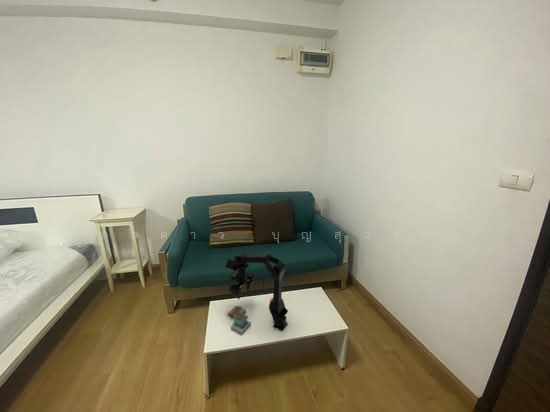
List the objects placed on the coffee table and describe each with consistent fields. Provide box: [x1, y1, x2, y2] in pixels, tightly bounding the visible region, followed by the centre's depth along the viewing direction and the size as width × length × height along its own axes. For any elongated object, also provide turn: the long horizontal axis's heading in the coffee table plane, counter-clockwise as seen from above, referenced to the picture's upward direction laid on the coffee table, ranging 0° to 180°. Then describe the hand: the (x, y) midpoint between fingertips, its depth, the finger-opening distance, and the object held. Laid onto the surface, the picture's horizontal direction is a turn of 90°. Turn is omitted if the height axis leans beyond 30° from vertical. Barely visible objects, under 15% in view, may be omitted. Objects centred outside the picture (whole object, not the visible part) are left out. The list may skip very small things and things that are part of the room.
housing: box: [232, 312, 249, 329], centre depth 131 cm, size 5×7×5 cm
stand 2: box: [230, 320, 252, 336], centre depth 132 cm, size 8×8×2 cm
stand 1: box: [227, 304, 247, 320], centre depth 142 cm, size 8×8×2 cm
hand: (243, 294), depth 142 cm, fingers open, 9 cm apart
